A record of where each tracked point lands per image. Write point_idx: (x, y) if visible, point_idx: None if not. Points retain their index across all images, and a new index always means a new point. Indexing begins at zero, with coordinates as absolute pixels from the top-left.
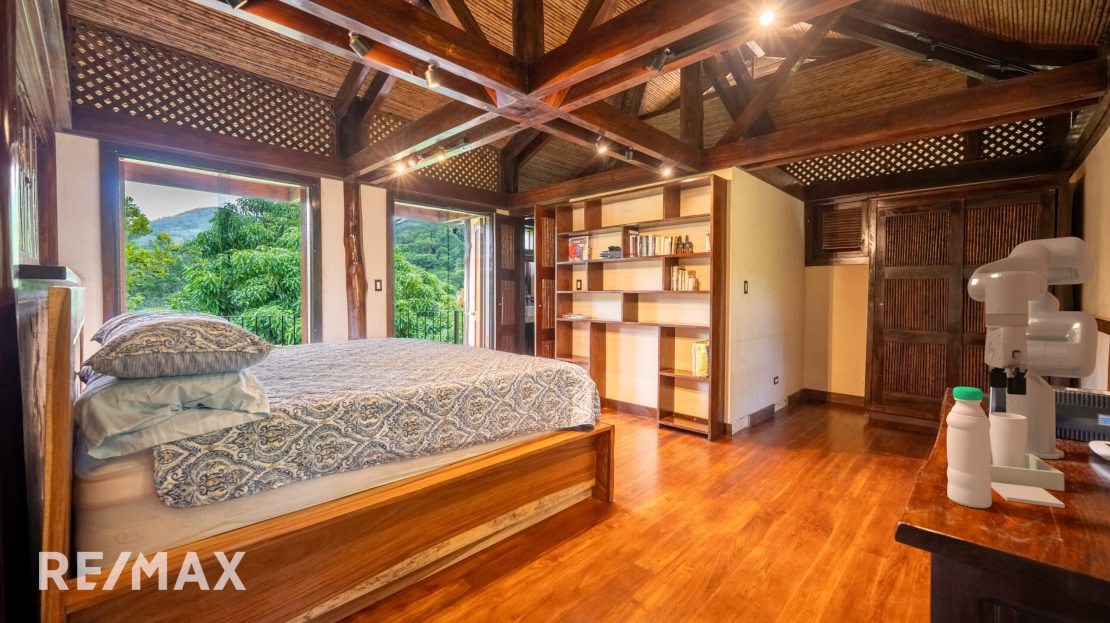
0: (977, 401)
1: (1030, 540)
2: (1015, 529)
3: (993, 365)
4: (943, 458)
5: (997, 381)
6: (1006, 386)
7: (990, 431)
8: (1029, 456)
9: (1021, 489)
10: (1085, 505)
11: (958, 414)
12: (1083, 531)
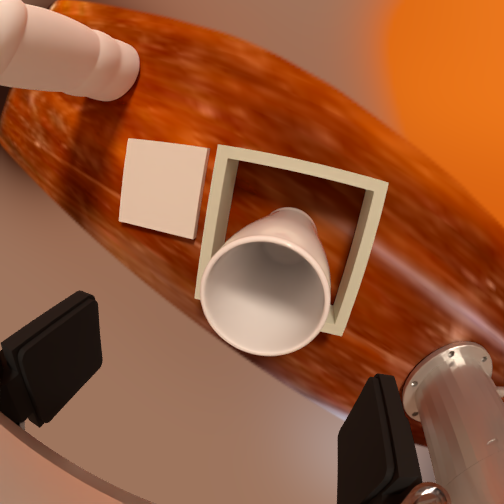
0: None
1: (32, 109)
2: (49, 104)
3: (46, 463)
4: (406, 154)
5: (358, 435)
6: (338, 440)
7: (281, 219)
8: (331, 322)
9: (172, 190)
10: (145, 264)
11: (6, 19)
12: (58, 187)
